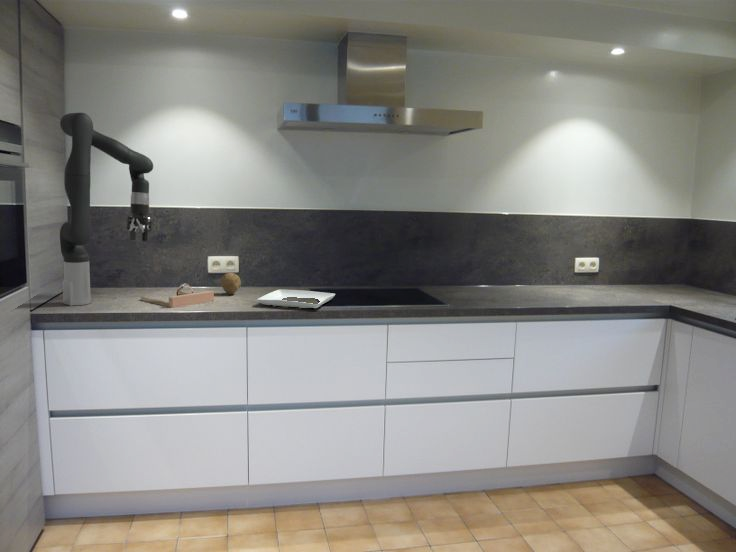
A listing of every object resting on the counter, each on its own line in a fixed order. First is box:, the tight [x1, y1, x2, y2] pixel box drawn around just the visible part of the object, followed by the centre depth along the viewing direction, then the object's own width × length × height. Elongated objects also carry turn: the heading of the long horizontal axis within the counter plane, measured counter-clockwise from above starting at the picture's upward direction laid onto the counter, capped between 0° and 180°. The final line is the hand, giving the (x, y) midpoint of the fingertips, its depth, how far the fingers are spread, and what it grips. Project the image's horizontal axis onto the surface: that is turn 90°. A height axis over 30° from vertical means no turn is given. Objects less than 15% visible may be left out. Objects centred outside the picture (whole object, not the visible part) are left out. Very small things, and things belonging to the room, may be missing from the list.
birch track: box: [140, 290, 192, 308], centre depth 254 cm, size 20×20×2 cm
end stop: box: [168, 290, 215, 309], centre depth 248 cm, size 20×2×4 cm, turn 143°
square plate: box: [256, 289, 336, 309], centre depth 257 cm, size 27×27×4 cm
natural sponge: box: [220, 272, 242, 296], centre depth 271 cm, size 9×9×10 cm
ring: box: [176, 283, 195, 296], centre depth 250 cm, size 7×3×8 cm, turn 99°
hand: (138, 240), depth 259 cm, fingers open, 8 cm apart
